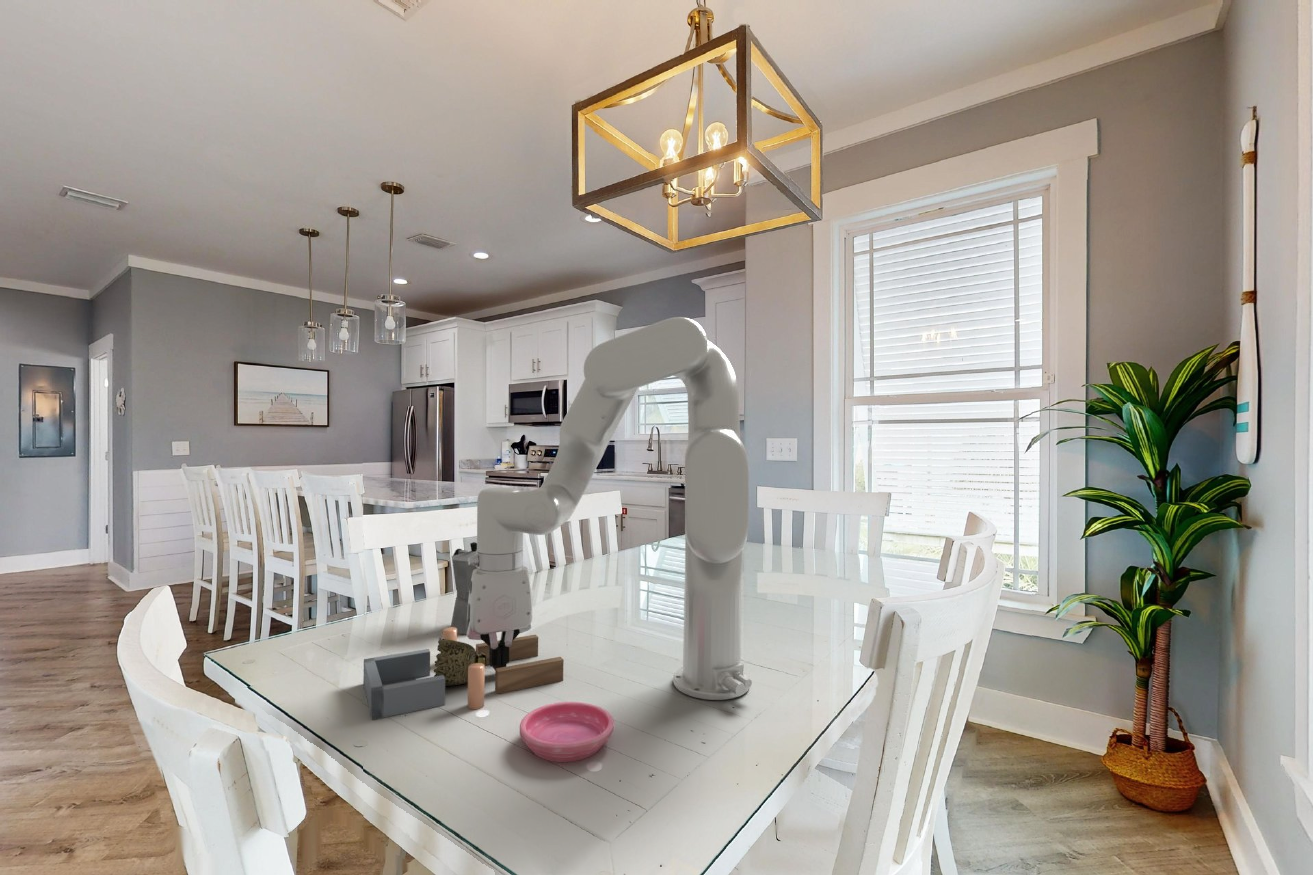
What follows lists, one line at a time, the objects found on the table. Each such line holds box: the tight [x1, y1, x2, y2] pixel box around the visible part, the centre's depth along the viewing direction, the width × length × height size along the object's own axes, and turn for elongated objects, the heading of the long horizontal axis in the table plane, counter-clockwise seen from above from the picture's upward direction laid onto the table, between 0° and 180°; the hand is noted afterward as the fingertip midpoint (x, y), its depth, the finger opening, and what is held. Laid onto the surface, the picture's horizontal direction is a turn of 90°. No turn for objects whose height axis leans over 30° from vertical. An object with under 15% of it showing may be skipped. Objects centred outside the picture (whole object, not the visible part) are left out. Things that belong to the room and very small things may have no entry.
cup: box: [432, 637, 487, 687], centre depth 98 cm, size 8×7×8 cm
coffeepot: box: [450, 541, 477, 636], centre depth 127 cm, size 15×9×18 cm, turn 44°
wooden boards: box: [475, 634, 565, 695], centre depth 103 cm, size 14×11×4 cm
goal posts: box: [442, 626, 486, 710], centre depth 99 cm, size 21×2×6 cm, turn 30°
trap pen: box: [362, 648, 446, 721], centre depth 94 cm, size 14×10×4 cm
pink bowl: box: [519, 701, 615, 763], centre depth 80 cm, size 12×12×3 cm
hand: (499, 668), depth 102 cm, fingers closed
